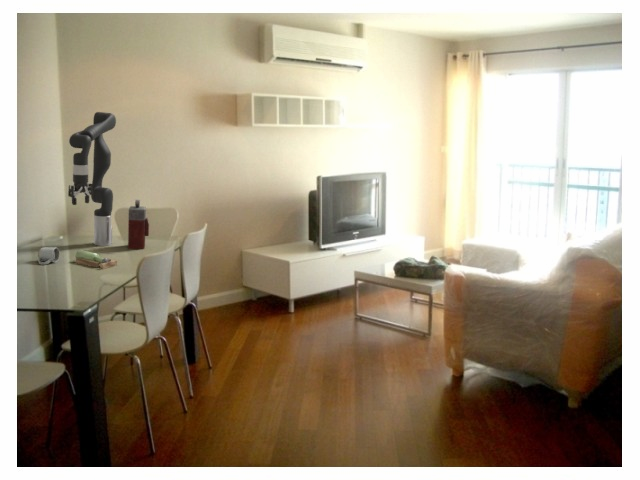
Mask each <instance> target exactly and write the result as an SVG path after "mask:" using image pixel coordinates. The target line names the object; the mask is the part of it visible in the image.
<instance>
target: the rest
mask: <svg viewBox="0 0 640 480" xmlns="http://www.w3.org/2000/svg"><path fill="white" fill-rule="evenodd" d="M100 257H101V258H104V257H103V256H100ZM107 259H108V260H109V262H106V263H102V264H101V263H99V262H95V261H90V260H86V259H82V258H76V257H75V264H78V263H79V265H83V266H87V265H88V266H87V267H91V266H94V267H93V268H95V267H98V268H99V267H100V268H101V269H100V268H99V269H100V270H105V268H106V269H110V268H113V267H115V266H116V267H117V266H118V260H116V259H114V260H112V259H111V258H107Z"/></svg>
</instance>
